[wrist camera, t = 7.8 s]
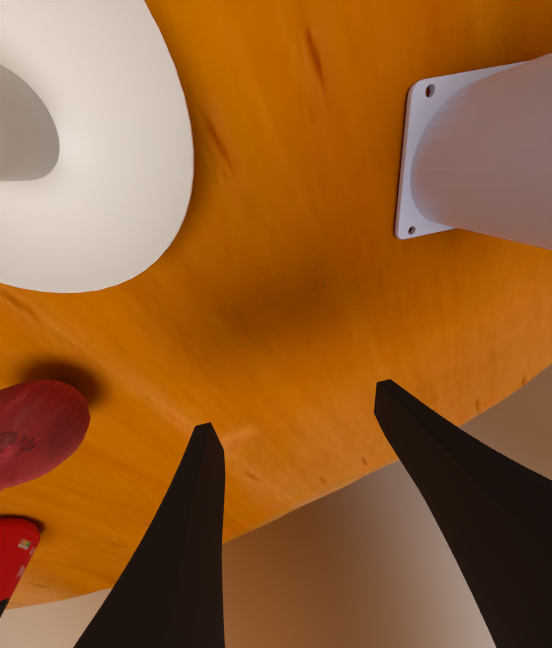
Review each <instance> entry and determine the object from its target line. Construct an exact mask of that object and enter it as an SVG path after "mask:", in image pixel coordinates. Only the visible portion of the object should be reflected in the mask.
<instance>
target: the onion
mask: <svg viewBox="0 0 552 648" xmlns="http://www.w3.org/2000/svg"><path fill="white" fill-rule="evenodd" d="M89 422H90V414H89V410H88V406H87V401H86V400H85V398H84V397H83V396H82V394H81V393H80V392H79V390H78V389H76V388H75V387H73V386H71V385H70V384H67V383H64V382H60V381H57V380H30V381H26V382H23V383H19V384H16V385H13V386H10V387H7V388H4V389H1V390H0V492H1V491H2V490H3V489H4V488H7V487H12V486H15V485H18V484H21V483H24V482H27V481H30V480H33V479H35V478H38V477H40V476H42V475H44V474H46V473H48V472H49V471H51V470H52V469H54V468H55V467H57V466H58V465H59V464H60V463H62V462H63V461H64V460H66V459H67V458H68V457H69V456H70V455H71V454H72V453H73V452H74V451H76V450H77V448H78V447H79V445H80V444H81V442H82V441H83V439H84V437H85V434H86V432H87V429H88V426H89Z"/></svg>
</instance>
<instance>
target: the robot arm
mask: <svg viewBox="0 0 552 648" xmlns="http://www.w3.org/2000/svg"><path fill="white" fill-rule="evenodd" d="M427 87H429V89H430V93H429V96H428V97H427V96H426V94H425V91H426V88H427ZM410 227H412V230H411V232H410V233H408V230H409V228H410ZM454 228H459V229H464V230H468V231H472V232H476V233H481V234H485V235H489V236H493V237H498V238H502V239H506V240H511V241H515V242H519V243H523V244H528V245H532V246H536V247H540V248H545V249H549V250H552V53H549V54H547V55H544V56H541V57H539V58H536V59H533V60H530V61H525V62H519V63H513V64H508V65H502V66H496V67H491V68H485V69H479V70H474V71H468V72H462V73H457V74H451V75H445V76H440V77H434V78H428V79H423V80H420V81H418V82H416V83H414V84H413V85H412V86H411V88H410V90H409V93H408V100H407V110H406V121H405V131H404V142H403V152H402V162H401V173H400V183H399V194H398V204H397V215H396V225H395V236H396V237H397V238H399V239H408V238H412V237H417V236H422V235H426V234H431V233H436V232H440V231H445V230H450V229H454ZM374 414H375V416H376V418H377V421H378V423H379V425H380V427H381V429H382V431H383V433H384V435H385V437H386V438H387V440H388V442H389V443H390V445H391V446H392V448H393V450H394V451H395V453H396V454H397V456H398V457H399V459H400V461H401V462H402V464H403V465H404V467H405V468H406V470H407V472H408V473H409V475H410V476H411V478H412V479H413V481H414V483H415V484H416V486H417V487H418V489H419V490H420V492H421V494H422V496H423V497H424V499H425V501H426V503H427V505H428V507H429V508H430V510H431V512H432V514H433V516H434V518H435V520H436V522H437V524H438V526H439V527H440V529H441V531H442V533H443V535H444V537H445V539H446V541H447V543H448V545H449V547H450V549H451V551H452V553H453V555H454V557H455V559H456V561H457V563H458V565H459V567H460V569H461V572H462V574H463V576H464V578H465V580H466V582H467V584H468V586H469V588H470V590H471V592H472V594H473V596H474V599H475V601H476V603H477V605H478V608H479V610H480V612H481V614H482V616H483V618H484V620H485V623H486V625H487V627H488V629H489V632H490V634H491V636H492V638H493V641H494V643H495V645H496V648H552V480H550V479H548V478H546V477H544V476H542V475H540V474H538V473H536V472H534V471H532V470H530V469H528V468H526V467H524V466H522V465H520V464H519V463H517V462H515V461H513V460H511V459H509V458H508V457H506V456H504V455H502V454H501V453H499V452H497V451H495V450H494V449H492V448H490V447H489V446H487V445H485V444H483V443H482V442H480V441H479V440H477V439H475V438H474V437H472V436H471V435H469V434H467V433H466V432H464V431H463V430H461V429H459V428H458V427H457V426H455V425H454V424H452V423H451V422H449V421H448V420H446V419H445V418H443V417H442V416H440V415H439V414H438V413H436V412H435V411H433V410H432V409H430V408H429V407H428V406H426V405H425V404H423V403H422V402H421V401H419V400H418V399H417V398H415V397H414V396H412V395H411V394H410V393H408V392H407V391H406V390H404V389H403V388H402V387H400V386H399V385H398V384H396V383H395V382H394V381H392V380H391V379H389V380H384V381H380V382H377V385H376V396H375V407H374ZM224 493H225V460H224V449H223V447H222V445H221V443H220V441H219V439H218V437H217V434H216V432H215V430H214V428H213V426H212V424H211V422H210V423H206V424H201V425H197V426H196V427H195V428H194V430H193V433H192V435H191V438H190V441H189V443H188V446H187V448H186V450H185V453H184V455H183V458H182V460H181V462H180V465H179V467H178V469H177V471H176V473H175V476H174V478H173V480H172V482H171V484H170V487H169V489H168V491H167V493H166V495H165V497H164V499H163V501H162V503H161V505H160V507H159V509H158V511H157V513H156V515H155V517H154V518H153V520H152V522H151V524H150V526H149V528H148V530H147V531H146V533H145V535H144V537H143V539H142V540H141V542H140V544H139V546H138V547H137V549H136V551H135V553H134V554H133V556H132V558H131V559H130V561H129V563H128V564H127V566H126V568H125V569H124V571H123V572H122V574H121V576H120V577H119V579H118V581H117V582H116V584H115V585H114V587H113V589H112V590H111V592H110V593H109V595H108V597H107V598H106V600H105V601H104V603H103V604H102V606H101V607H100V609H99V610H98V612H97V613H96V615H95V616H94V618H93V619H92V621H91V622H90V624H89V625H88V626H87V628H86V630H85V631H84V632H83V634H82V636H81V637H80V638H79V640H78V641H77V643H76V644H75V646H74V647H73V648H225V641H224V619H223V594H222V593H223V592H222V531H223V512H224Z"/></svg>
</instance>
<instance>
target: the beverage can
mask: <svg viewBox="0 0 552 648" xmlns="http://www.w3.org/2000/svg"><path fill="white" fill-rule="evenodd" d="M39 541H40V532H39V530H38V529H37V526H36V524H35V523H33V522H31V521H29V520H26V519H22V518H12V517H9V518H0V617H1V615H2V613H3V611H4V610H5V608H6V606H7V604H8V602H9V600H10V598H11V596H12V594H13V592H14V590H15V588H16V586H17V584H18V582H19V580H20V578H21V576H22V574H23V573H24V571H25V569H26V567H27V565H28V563H29V561H30V559H31V557H32V555H33V553H34V551H35V549H36V547H37V545H38V543H39Z"/></svg>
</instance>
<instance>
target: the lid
mask: <svg viewBox="0 0 552 648" xmlns="http://www.w3.org/2000/svg"><path fill="white" fill-rule="evenodd" d="M193 180H194V144H193V134H192V126H191V121H190V116H189V112H188V107H187V102H186V98H185V95H184V92H183V89H182V85H181V82H180V79H179V76H178V73H177V70H176V67H175V65H174V62H173V60H172V58H171V55H170V53H169V51H168V48H167V46H166V43H165V41H164V39H163V36H162V34H161V32H160V30H159V28H158V26H157V24H156V22H155V20H154V19H153V17H152V15H151V13H150V11H149V9H148V7H147V5H146V3H145V1H144V0H0V283H4V284H7V285H11V286H15V287H19V288H24V289H30V290H36V291H42V292H55V293H79V292H88V291H95V290H101V289H104V288H108V287H111V286H115V285H118V284H120V283H122V282H125V281H127V280H129V279H132V278H133V277H135V276H136V275H138V274H140V273H141V272H143V271H145V270H146V269H147V268H148V267H149V266H151V265H152V264H153V263H154V262H155V261H157V260H158V259H159V257H160V256H161V255H162V254H163V253H164V252H165V250H166V249H167V248H168V247H169V246H170V244H171V243H172V241H173V240H174V238H175V237H176V235H177V233H178V232H179V230H180V228H181V226H182V223H183V221H184V218H185V216H186V214H187V210H188V206H189V203H190V199H191V195H192V188H193Z"/></svg>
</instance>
